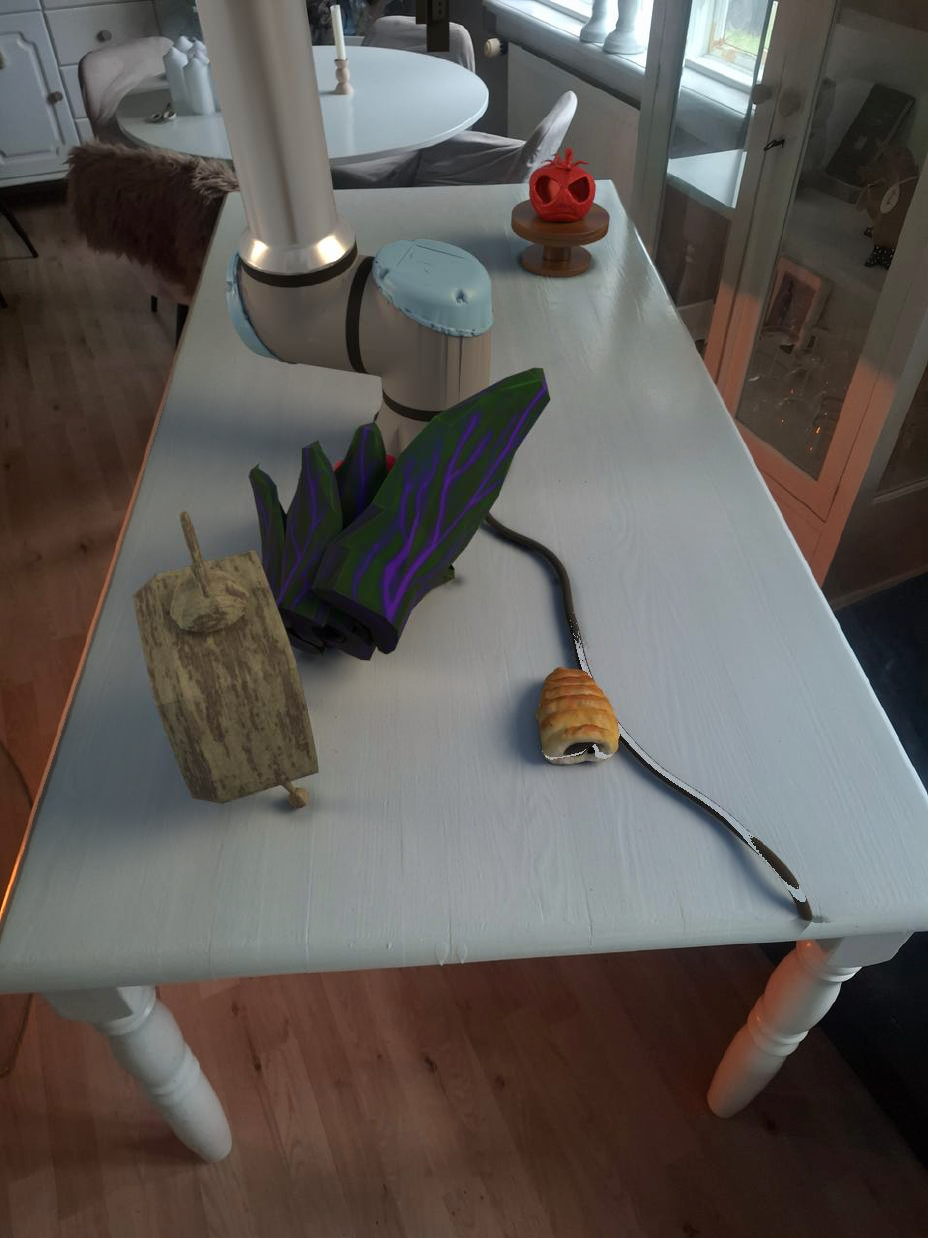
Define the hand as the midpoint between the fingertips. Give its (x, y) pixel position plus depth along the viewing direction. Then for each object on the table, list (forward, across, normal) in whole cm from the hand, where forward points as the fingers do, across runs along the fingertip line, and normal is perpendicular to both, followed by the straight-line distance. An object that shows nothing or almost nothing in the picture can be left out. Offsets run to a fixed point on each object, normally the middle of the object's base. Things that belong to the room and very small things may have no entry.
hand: (431, 37), depth 108 cm
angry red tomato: (+25, -5, +20) cm, 32 cm away
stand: (+32, -5, +20) cm, 38 cm away
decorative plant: (+32, +65, -13) cm, 74 cm away
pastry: (+32, +85, +2) cm, 91 cm away
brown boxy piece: (+32, +85, -25) cm, 94 cm away
